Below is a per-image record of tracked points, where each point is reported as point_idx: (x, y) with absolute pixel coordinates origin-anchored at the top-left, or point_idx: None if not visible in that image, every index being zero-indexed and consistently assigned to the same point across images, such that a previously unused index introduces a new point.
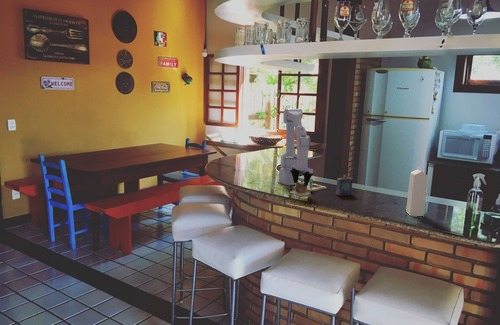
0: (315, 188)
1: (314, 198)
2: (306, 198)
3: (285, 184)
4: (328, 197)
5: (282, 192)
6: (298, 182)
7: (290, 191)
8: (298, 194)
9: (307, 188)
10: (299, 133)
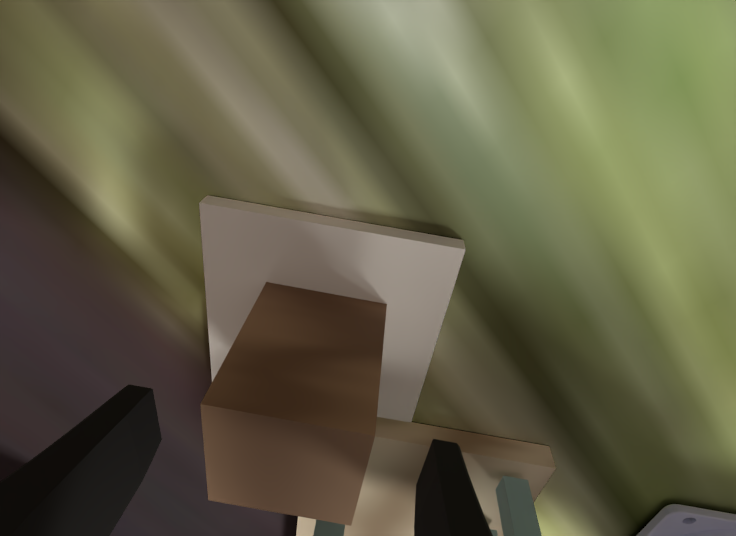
0: (309, 528)
1: (5, 234)
2: (38, 139)
3: (723, 514)
4: (7, 382)
5: (580, 160)
6: (352, 472)
7: (458, 264)
8: (247, 209)
9: (366, 492)
10: None
